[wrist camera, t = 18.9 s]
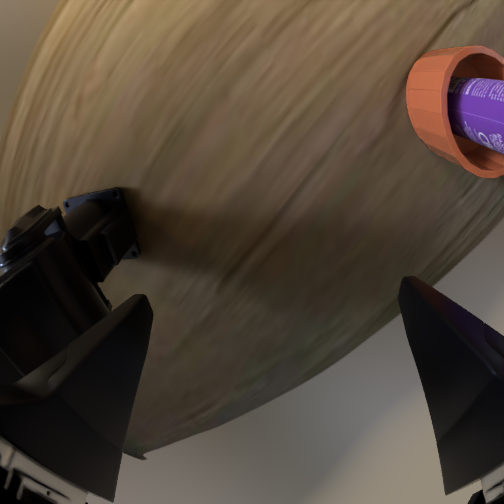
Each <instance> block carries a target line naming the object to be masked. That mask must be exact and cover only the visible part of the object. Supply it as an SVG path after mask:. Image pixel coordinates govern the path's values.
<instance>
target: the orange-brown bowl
mask: <svg viewBox="0 0 504 504" xmlns="http://www.w3.org/2000/svg"><path fill="white" fill-rule="evenodd" d="M451 77H472V78H484V79H494V80H502V81H504V58H503V57H502V56H500V55H499V54H498V53H497V52H496V51H494V50H491V49H489V48H486V47H483V46H480V45H478V46H464V47H454V48H445V49H438V50H433V51H430V52H427V53H426V54H424V55H422V56H421V57H420V58H419V59H418V60H417V61H416V63H415V64H414V65H413V67H412V69H411V71H410V74H409V76H408V80H407V86H406V104H407V110H408V114H409V117H410V121H411V123H412V125H413V128H414V130H415V131H416V133H417V135H418V136H419V138H420V139H421V141H422V142H423V143H424V144H425V145H426V146H427V147H428V148H429V149H430V150H432V151H433V152H435V153H436V154H437V155H439V156H441V157H443V158H445V159H447V160H449V161H451V162H453V163H455V164H457V165H459V166H460V167H462V168H464V169H466V170H468V171H469V172H471V173H473V174H475V175H477V176H479V177H481V178H497V177H499V176H502V175H504V155H503V154H501V153H499V152H497V151H495V150H492V149H490V148H488V147H485V146H483V145H481V144H478V143H476V142H473V141H471V140H468V139H466V138H463V137H460V136H458V135H455V134H453V133H452V131H451V127H450V122H449V118H448V108H447V92H448V88H449V83H450V78H451Z"/></svg>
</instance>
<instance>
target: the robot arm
mask: <svg viewBox="0 0 504 504" xmlns="http://www.w3.org/2000/svg"><path fill="white" fill-rule="evenodd" d="M115 192H117V193H118V196H117V195H116V194H115ZM68 203H69V205H70V206H69V205H68ZM63 204H64V208H65V211H66V215H65V216H64V217H63V218H62V215H61V213H62V212H61V210H60V208H59V206H58V207H56V208H53V209H51V208H50V209H45V208H43V207H41V206H40V205H38V206H36V207H34V208H33V209H31V210H30V211H28V212H27V213H26V214H24V215H23V216H22V217H20V218H19V219H18V220H17V221H16V222H15V223H14V224H13V225H12V226H11V227H10V228H9V229H8V231H7V234H6V237H5V238H4V240H3V241H2V243H1V245H0V504H88V503H87V502H86V498H87V494H88V493H89V494H91V495H94V496H96V497H99V498H102V499H104V500H107V501H110V502H114V497H115V491H116V485H117V480H118V474H119V469H120V464H121V458H122V452H123V448H124V443H125V438H126V434H127V429H128V425H129V421H130V416H131V412H132V408H133V404H134V400H135V396H136V392H137V388H138V384H139V380H140V376H141V373H142V369H143V365H144V362H145V358H146V354H147V350H148V345H149V339H150V333H151V327H152V322H153V310H152V308H151V306H150V303H149V301H148V298H147V296H146V295H144V294H135V295H133V296H132V297H130V298H129V299H128V300H126V301H125V302H124V303H122V304H121V305H120V306H118V307H117V308H116V309H114V310H113V311H112V312H111V309H112V305H111V303H110V302H109V300H107V299H106V297H105V296H104V294H103V293H102V291H101V289H100V288H99V286H98V284H97V283H98V282H103V281H104V280H105V279H106V277H107V276H108V274H109V273H110V272H111V270H112V269H113V268H114V266H116V265H118V264H119V262H120V261H121V260H122V259H133V258H138V257H139V256H140V254H141V250H140V247H139V244H138V241H137V235H136V231H135V228H134V225H133V222H132V218H131V215H130V212H129V211H128V209H127V206H126V202H125V199H124V195H123V192H122V190H121V189H120V188H119V187H115V188H110V189H105V190H101V191H96V192H92V193H88V194H83V195H79V196H75V197H71V198H68V199H66V200H65V201H64V203H63ZM133 251H135V252H136V253H137V254H136V253H134V252H133ZM398 302H399V306H400V310H401V314H402V318H403V322H404V326H405V330H406V334H407V338H408V342H409V345H410V347H411V351H412V354H413V357H414V360H415V363H416V366H417V369H418V372H419V376H420V379H421V383H422V386H423V390H424V393H425V397H426V400H427V404H428V408H429V412H430V416H431V420H432V424H433V429H434V433H435V438H436V442H437V448H438V453H439V458H440V464H441V469H442V476H443V483H444V490H445V495H448V494H451V493H453V492H455V491H458V490H460V489H462V488H465V487H467V486H469V485H471V484H473V483H475V482H477V481H479V480H481V484H482V490H480V491H478V492H476V493H474V494H473V495H472V497H471V498H470V500H469V502H468V504H504V336H503V335H501V334H500V333H498V332H497V331H495V330H494V329H493V328H491V327H490V326H489V325H487V324H486V323H484V322H483V321H482V320H480V319H479V318H477V317H476V316H474V315H473V314H471V313H470V312H468V311H467V310H466V309H464V308H463V307H461V306H460V305H458V304H457V303H455V302H454V301H452V300H451V299H449V298H448V297H446V296H445V295H443V294H442V293H440V292H439V291H437V290H435V289H434V288H432V287H431V286H429V285H428V284H426V283H425V282H423V281H422V280H420V279H418V278H417V277H415V276H405V277H403V278H402V281H401V285H400V290H399V295H398Z"/></svg>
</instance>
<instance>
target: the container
mask: <svg viewBox="0 0 504 504" xmlns="http://www.w3.org/2000/svg"><path fill="white" fill-rule="evenodd" d="M447 108H448V118H449V122H450V127H451V131H452V133H453V134H455V135H458V136H460V137H463V138H466V139H468V140H471V141H473V142H476V143H478V144H481V145H483V146H485V147H488V148H490V149H492V150H495V151H497V152H499V153H501V154H503V155H504V81H502V80H494V79H484V78H472V77H451V78H450V83H449V88H448V92H447Z"/></svg>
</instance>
